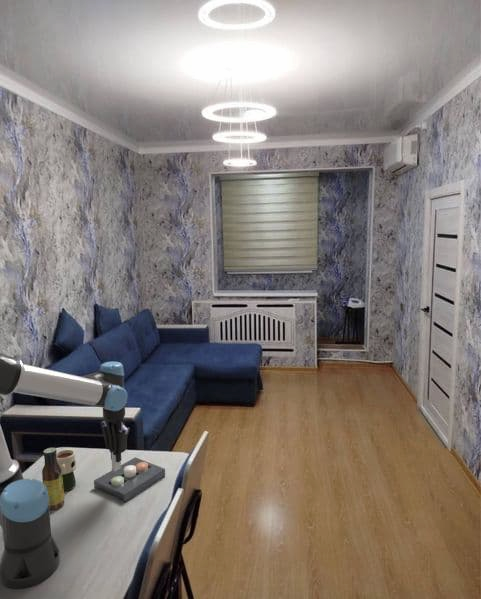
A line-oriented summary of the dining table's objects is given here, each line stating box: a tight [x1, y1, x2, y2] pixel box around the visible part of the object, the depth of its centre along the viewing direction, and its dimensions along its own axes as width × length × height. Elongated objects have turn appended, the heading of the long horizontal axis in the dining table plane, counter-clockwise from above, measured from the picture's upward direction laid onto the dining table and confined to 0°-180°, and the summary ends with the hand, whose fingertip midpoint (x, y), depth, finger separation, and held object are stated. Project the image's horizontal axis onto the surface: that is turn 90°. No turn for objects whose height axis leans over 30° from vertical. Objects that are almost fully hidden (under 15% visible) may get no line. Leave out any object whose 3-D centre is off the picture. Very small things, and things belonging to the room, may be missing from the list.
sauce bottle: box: [41, 447, 65, 511], centre depth 150 cm, size 6×6×20 cm
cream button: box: [124, 465, 136, 480], centre depth 165 cm, size 4×4×4 cm
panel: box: [93, 456, 166, 503], centre depth 165 cm, size 20×16×3 cm
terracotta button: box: [136, 461, 148, 472], centre depth 170 cm, size 4×4×4 cm
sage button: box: [111, 476, 124, 487], centre depth 160 cm, size 4×4×4 cm
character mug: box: [56, 448, 77, 491], centre depth 161 cm, size 11×7×13 cm, turn 15°
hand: (116, 469), depth 159 cm, fingers closed
